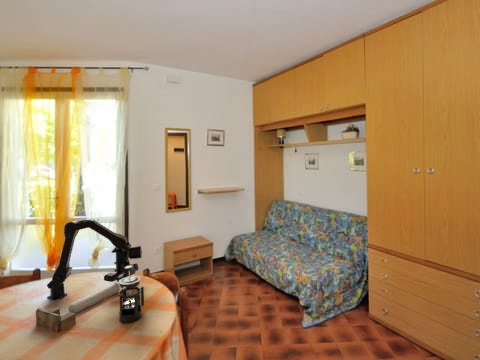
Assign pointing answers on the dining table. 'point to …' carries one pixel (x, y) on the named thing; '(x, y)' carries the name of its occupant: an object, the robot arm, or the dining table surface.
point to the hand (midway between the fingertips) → (122, 287)
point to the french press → (130, 304)
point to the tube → (93, 298)
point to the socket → (54, 319)
